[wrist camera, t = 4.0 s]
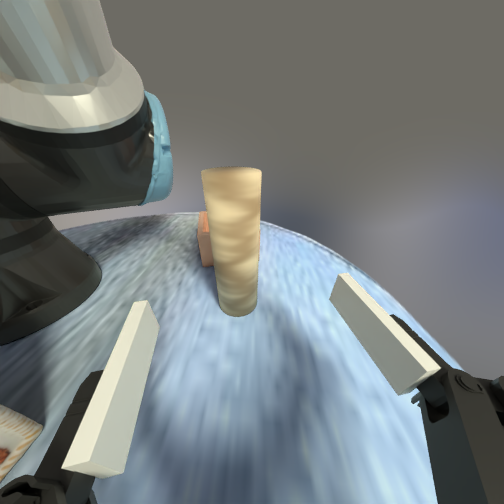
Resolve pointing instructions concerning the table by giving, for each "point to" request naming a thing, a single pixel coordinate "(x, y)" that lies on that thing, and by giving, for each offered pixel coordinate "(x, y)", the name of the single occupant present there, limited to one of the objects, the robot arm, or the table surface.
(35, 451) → the table surface
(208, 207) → the peg
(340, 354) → the table surface
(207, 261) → the box
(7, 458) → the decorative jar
